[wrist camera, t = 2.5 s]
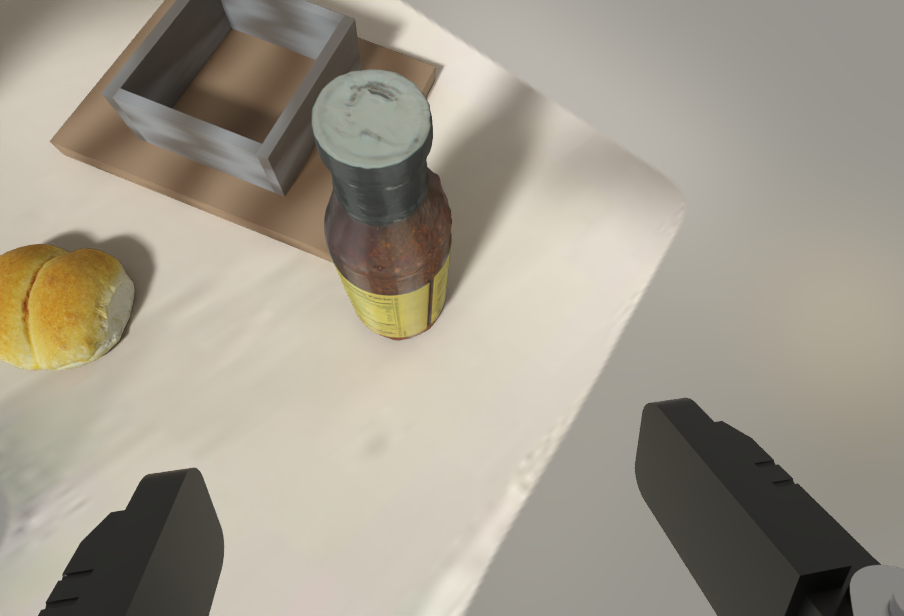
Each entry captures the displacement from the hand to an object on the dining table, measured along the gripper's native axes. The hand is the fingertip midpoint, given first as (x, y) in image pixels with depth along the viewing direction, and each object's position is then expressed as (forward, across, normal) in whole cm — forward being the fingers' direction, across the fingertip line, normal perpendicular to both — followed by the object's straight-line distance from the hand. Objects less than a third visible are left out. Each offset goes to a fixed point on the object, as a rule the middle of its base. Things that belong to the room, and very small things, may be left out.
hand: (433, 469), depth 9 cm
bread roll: (+27, +22, +7) cm, 35 cm away
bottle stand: (+37, +9, -3) cm, 38 cm away
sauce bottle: (+25, 0, +9) cm, 27 cm away
